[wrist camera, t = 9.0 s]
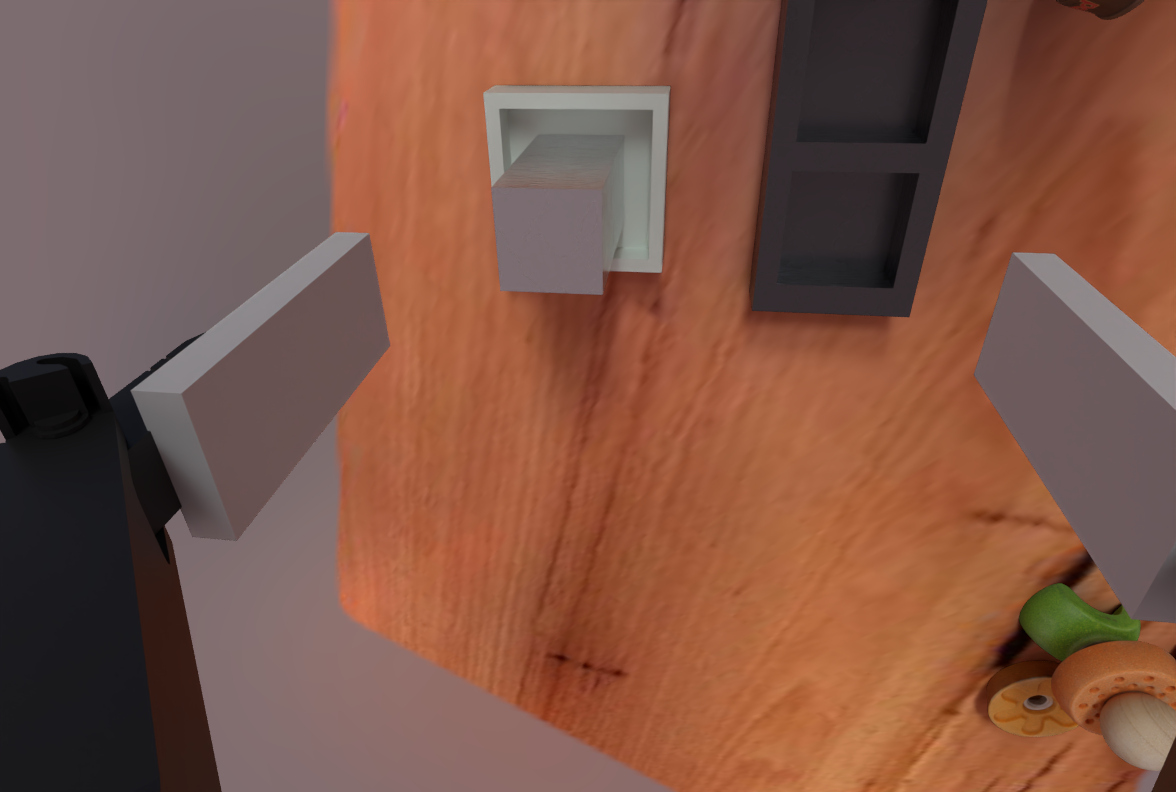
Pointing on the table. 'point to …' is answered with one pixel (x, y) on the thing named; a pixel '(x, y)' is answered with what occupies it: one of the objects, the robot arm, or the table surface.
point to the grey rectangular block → (560, 214)
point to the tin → (1103, 7)
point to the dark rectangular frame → (857, 150)
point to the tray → (596, 112)
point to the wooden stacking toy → (1089, 680)
